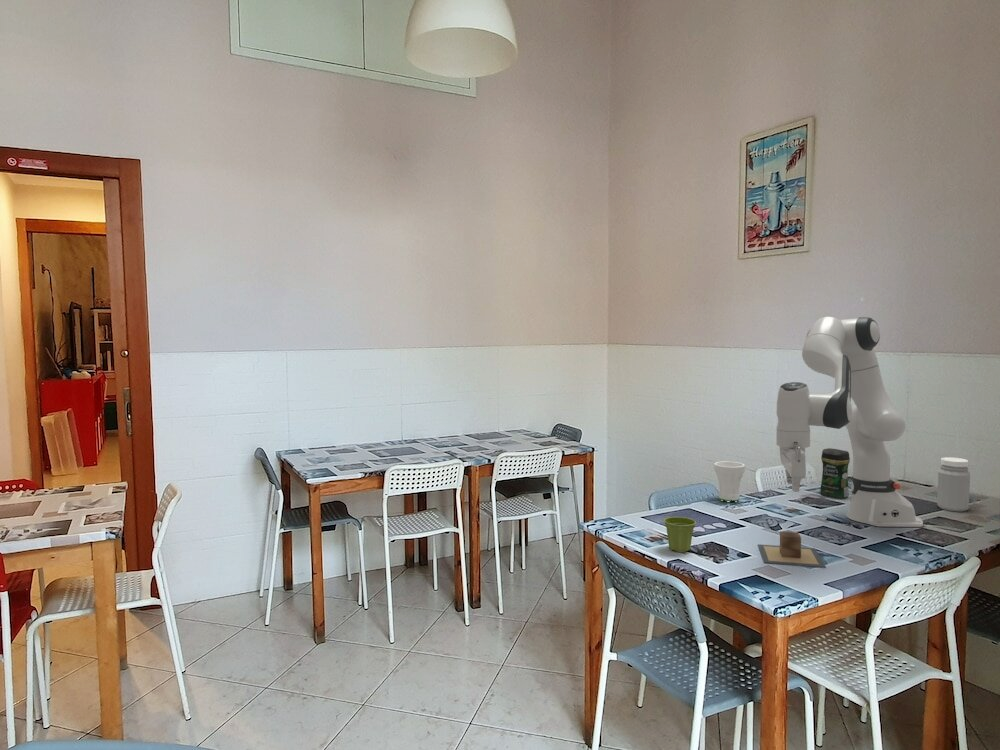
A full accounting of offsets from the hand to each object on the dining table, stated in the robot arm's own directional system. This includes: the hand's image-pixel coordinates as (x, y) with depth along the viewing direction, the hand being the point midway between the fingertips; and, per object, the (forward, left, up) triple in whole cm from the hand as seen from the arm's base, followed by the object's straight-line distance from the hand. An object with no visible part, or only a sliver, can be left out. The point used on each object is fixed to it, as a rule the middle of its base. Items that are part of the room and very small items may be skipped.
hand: (792, 487), depth 192 cm
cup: (+13, -61, -21) cm, 66 cm away
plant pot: (+31, +1, -21) cm, 37 cm away
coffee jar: (-27, -77, -21) cm, 84 cm away
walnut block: (0, 0, -20) cm, 20 cm away
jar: (-64, -67, -21) cm, 95 cm away
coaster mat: (0, 0, -20) cm, 20 cm away
